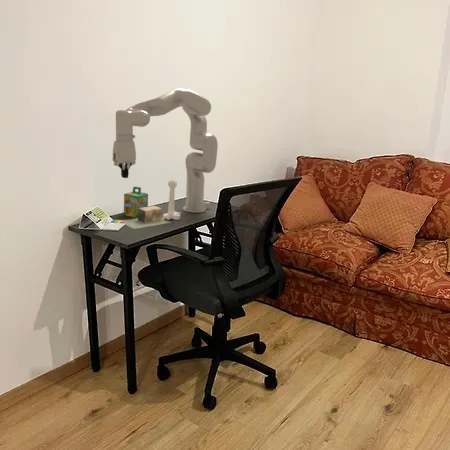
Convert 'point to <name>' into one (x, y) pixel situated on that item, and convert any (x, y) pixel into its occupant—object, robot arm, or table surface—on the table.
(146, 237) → the table surface
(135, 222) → the mat
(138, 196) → the chalk box
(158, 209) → the maple block
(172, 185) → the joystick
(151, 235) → the table surface
